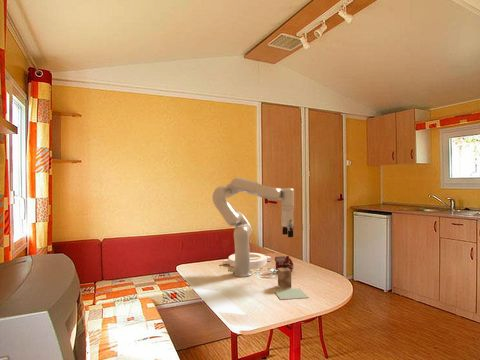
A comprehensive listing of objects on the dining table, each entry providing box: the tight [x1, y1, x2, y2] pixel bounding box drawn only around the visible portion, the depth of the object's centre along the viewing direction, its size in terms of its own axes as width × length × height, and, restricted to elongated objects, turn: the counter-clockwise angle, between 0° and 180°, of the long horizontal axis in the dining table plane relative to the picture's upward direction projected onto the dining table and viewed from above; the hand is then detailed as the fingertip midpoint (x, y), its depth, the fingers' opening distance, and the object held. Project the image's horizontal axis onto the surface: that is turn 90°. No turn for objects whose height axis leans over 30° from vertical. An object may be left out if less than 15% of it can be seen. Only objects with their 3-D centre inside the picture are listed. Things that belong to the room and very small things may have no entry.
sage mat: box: [273, 287, 309, 301], centre depth 156 cm, size 15×13×1 cm
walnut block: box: [277, 268, 292, 290], centre depth 166 cm, size 6×6×10 cm
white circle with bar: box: [222, 252, 272, 269], centre depth 218 cm, size 28×28×5 cm
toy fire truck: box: [274, 255, 294, 273], centre depth 195 cm, size 7×12×10 cm, turn 101°
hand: (287, 235), depth 183 cm, fingers open, 9 cm apart
